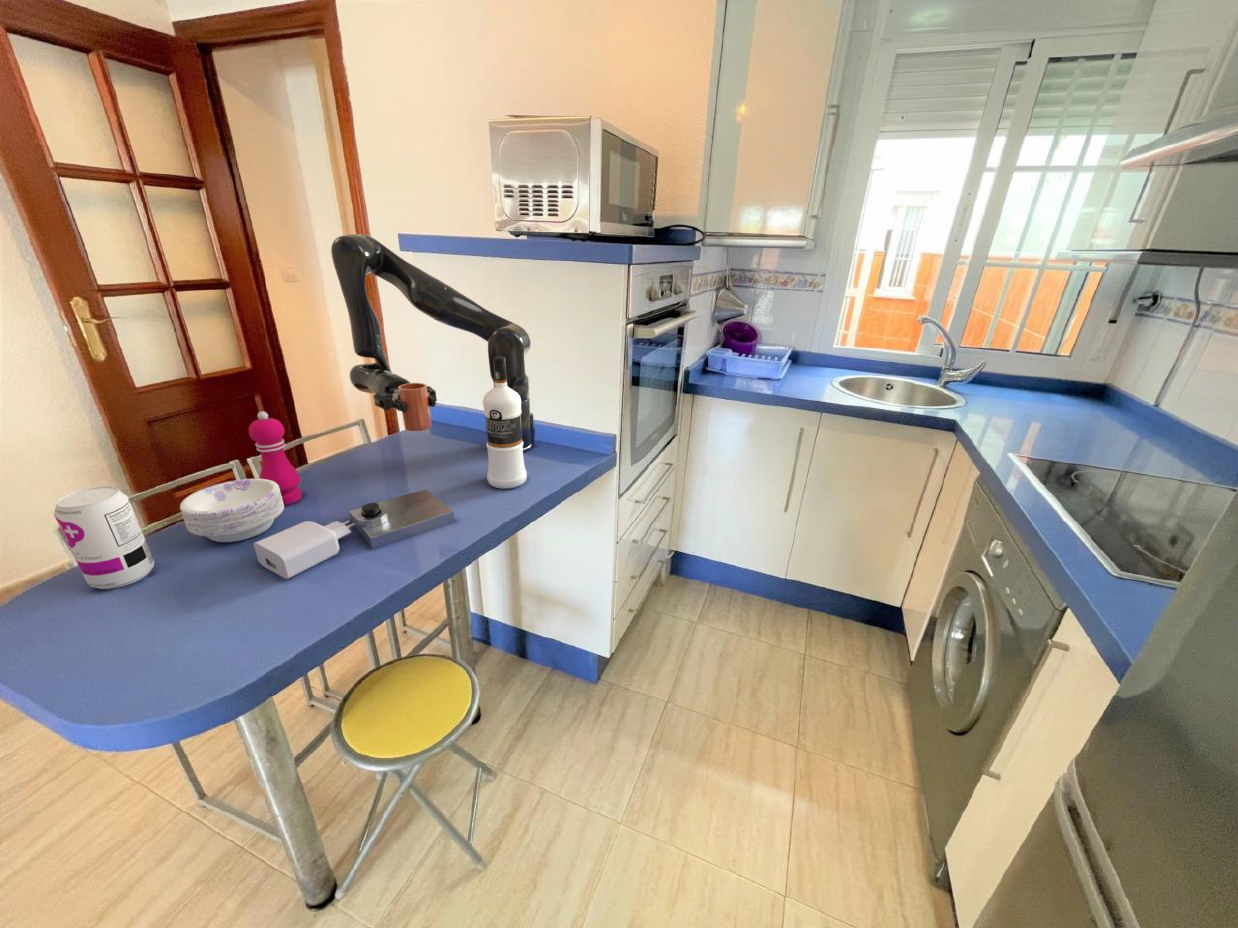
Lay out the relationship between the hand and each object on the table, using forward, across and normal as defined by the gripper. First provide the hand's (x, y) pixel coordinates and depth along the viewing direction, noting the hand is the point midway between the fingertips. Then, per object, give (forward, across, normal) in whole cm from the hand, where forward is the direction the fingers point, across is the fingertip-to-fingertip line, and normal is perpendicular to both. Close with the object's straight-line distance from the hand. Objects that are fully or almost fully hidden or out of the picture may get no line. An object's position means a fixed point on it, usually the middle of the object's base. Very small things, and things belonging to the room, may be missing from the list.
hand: (419, 405), depth 116 cm
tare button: (+19, -19, +14) cm, 30 cm away
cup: (-2, 0, +6) cm, 6 cm away
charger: (+20, -29, +18) cm, 40 cm away
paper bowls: (+3, -38, +18) cm, 42 cm away
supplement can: (+8, -55, +17) cm, 59 cm away
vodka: (+16, +13, +18) cm, 27 cm away
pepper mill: (-6, -29, +18) cm, 35 cm away
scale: (+19, -13, +17) cm, 29 cm away
